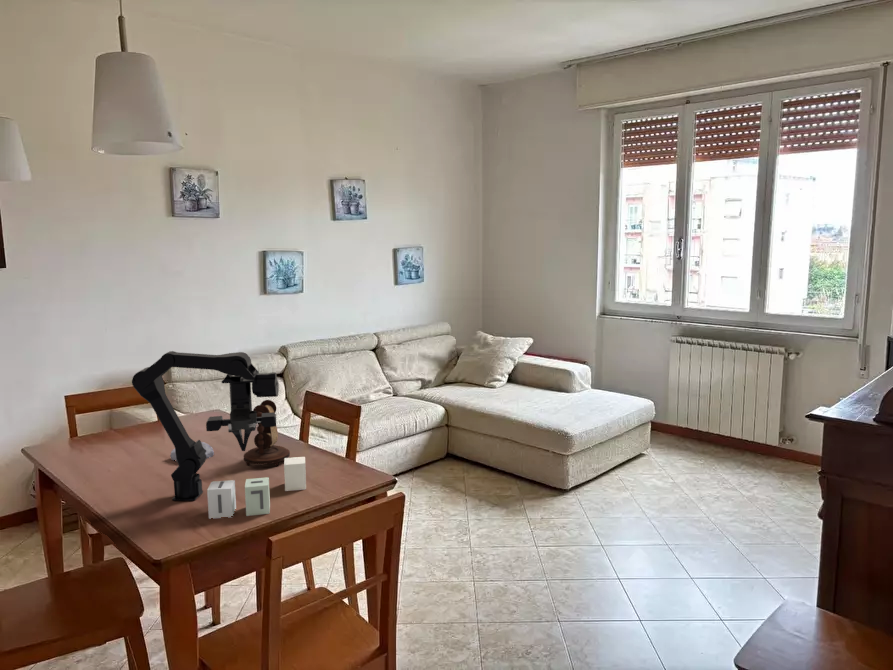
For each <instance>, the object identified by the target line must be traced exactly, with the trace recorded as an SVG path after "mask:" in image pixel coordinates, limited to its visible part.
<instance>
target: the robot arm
mask: <svg viewBox="0 0 893 670" xmlns="http://www.w3.org/2000/svg"><path fill="white" fill-rule="evenodd" d="M171 368H181V369H182V368H183V369H196V370H197V369H198V370H212V371H216V372H219V373H222V374H224V375H225V374H226V376H225V378H223V379H222V380H221V384H228V385H229V398H230V412H229V413H230V414H229V418H225V419H224V418H223V417H224V416H222V415H217V416H209V417H208V418H207V421H206V423H205V427H206V432H218V431H220V430H221V429H222V427H228V430H227V432H228V433H232V434H233V435H234V437H235V439H236V440H237V442H238V444H239V448H240V449H241V451H242V452H245V451H246V448H247V445H248V441H249V439H250V435H251V433H252V432H254V431H257V425H258V424H261V423H262V425H263V426H264V427H274V426H277V414H276V412H275V413H274V412H273V413H262V417H257V414H256V411H253V405H252V404H253V403H252V394H253V395H254V396H256V397H257V398H271V397H272V398H274V397H278V396H279V385H280V384H279V381H278V377H277V372H269V373H267V372H266V373H260V372H259V370H258V369H257V368H256V367H255V365H254V364H253V363H252V358H250V356H249V355H248V354H247V353H246V352H243V351H238V352H231V353H230V352H229V353H224V354H205V353H191V352H177V351H173V350H172V351H171V350H170V351H167V352H166V353H164V354H163V355H162V356H161V357H160V358H159V359H157V360H156V361H155V362H154V363H153V364H152V365H149V366H147V367H144V368H143V369H141V370H139V371H138V372H136V373H135V374H134V375H133V376H132V379H131V385H132V387H133V388H134V389H135V391H136V392H137V393H138V394H139V396H140V397H141V398H143V399H144V400H146V401H147V402H148V403H149V404H150V406H151V407H152V409H153V411H154V412H155V414H156V416H157V418H158V420H159V421H160V423H161V425H162V427H163V429H164V430H165V432H166V434H167V436H168V438H169V439H170V441H171V443H172V445H173V446H174V449H175V452H176V459H177V461H176V462H177V464H178V466H177V467H176V469H174V471H173V472H172V473H171V474H170V476H171V479H172V481H173V491H174V496H173V497H172V500H171V501H178V502H179V501H184V502H185V501H186V502H187V501H196V500H197V498H199V497H200V496H201V495H202V494H203V493H204V490H203V483H202V479H201V478H200V477H201V476H200V473H198V471H199V470H200V469H201V468H202V466H203V465H204V463H205V462H206V460H207V459H206V454H205V453H206V450H205V449H204V448H203V446H202V443H201V442H202V441H201V439H198V440H196V441H195V440H193V439H192V438H191V437H190V435H189V434H188V432H187V430H186V428H185V426H184V424H183V423H182V421H181V419H180V418H179V415H178V414H177V412H176V411H175V409H174V407H173V404H172V403H171V402H170V400H169V398H168V396H167V393H166V388H165V387H166V386H165V381H164V379H163V375H166V373H167V372H169V370H171ZM243 430H244V434H242V431H243Z"/></svg>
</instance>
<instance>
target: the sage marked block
mask: <svg viewBox="0 0 893 670" xmlns="http://www.w3.org/2000/svg"><path fill="white" fill-rule="evenodd" d="M244 498H245V499H244V500H245V515H246V517H249V516H259V515H268V514H270V513H271V512H270V511H271V500H270V499H271V498H270V478H269V476H268V477H267V476H266V477H257V478H246V479H245V484H244Z"/></svg>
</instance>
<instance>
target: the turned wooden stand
mask: <svg viewBox="0 0 893 670" xmlns="http://www.w3.org/2000/svg"><path fill="white" fill-rule="evenodd" d="M252 411H256V414H257V417H262V413H273V412H274V413H275V414H276V412H277V405H276V403H275V402H274V401H273V400H270V399H265V400H263V401H262V402H261V403H260V404H259V405H256V406H254V408H252ZM257 425H258V426H256V432H257V434H256V435H255V436H254V439H253V442H254V444H255V447H254V448H251V449H249V450H248V451H246V452H244V454H243V461H244V462H245V463H246V466H247V465H251V464H252V465H270V464H271V465H272V464H274V466H275V467H277V466H278V465H279V462H283V461H284V459H285V458H290V455H291V453H290V450H289V449H288V448H286V447H284V446H281V445H275V444H276V443H277V442H278V438H279V433H278V428H277V427H278V426H277V425H276V426H274V427H264V426H263V425H262V423H261V424H257Z"/></svg>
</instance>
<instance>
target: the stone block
mask: <svg viewBox="0 0 893 670" xmlns="http://www.w3.org/2000/svg"><path fill="white" fill-rule="evenodd" d="M201 443H202V446H203V448H204V449H205V450H206V453H205V454H206V460H208V459H210V458H212V457H214V456H215V452H214V448H213V447H212V446H211V445H210V444H209V443H208V442H207V443H206V442H204V441H201ZM213 455H214V456H213ZM169 456H170V459H171V461H174V460H176V461H175V462H177V459H176V452H175V448H173V449H172V450H171V452H170V455H169ZM209 457H210V458H209ZM207 458H208V459H207Z"/></svg>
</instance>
